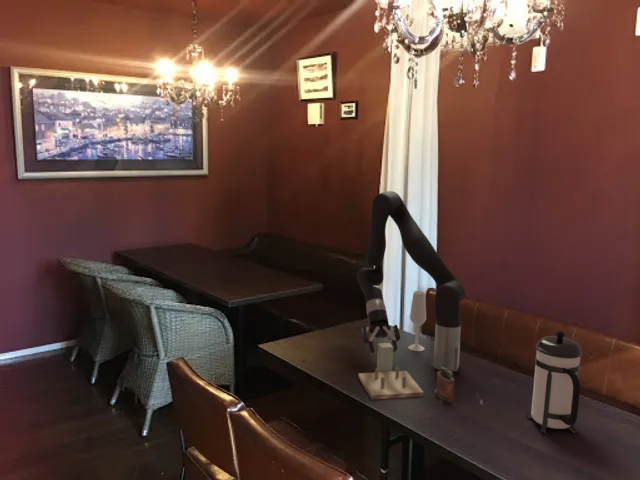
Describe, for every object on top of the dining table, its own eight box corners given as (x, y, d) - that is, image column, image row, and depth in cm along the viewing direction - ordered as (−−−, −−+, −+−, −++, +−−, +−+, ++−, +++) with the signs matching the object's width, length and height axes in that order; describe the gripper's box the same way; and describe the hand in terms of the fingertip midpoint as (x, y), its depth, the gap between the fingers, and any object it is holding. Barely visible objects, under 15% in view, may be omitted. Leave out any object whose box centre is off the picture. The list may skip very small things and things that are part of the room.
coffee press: (515, 425, 172) (523, 331, 166) (538, 408, 183) (546, 320, 177) (572, 447, 159) (583, 347, 154) (593, 428, 171) (604, 334, 165)
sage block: (376, 368, 212) (377, 343, 211) (388, 367, 213) (389, 342, 211) (380, 373, 208) (381, 347, 206) (391, 372, 209) (393, 347, 207)
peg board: (405, 374, 207) (406, 361, 206) (423, 396, 190) (424, 382, 189) (358, 377, 204) (358, 364, 203) (371, 399, 187) (372, 385, 186)
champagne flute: (407, 350, 232) (410, 293, 228) (408, 344, 238) (411, 289, 234) (424, 351, 230) (427, 295, 226) (425, 346, 237) (428, 290, 233)
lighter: (433, 392, 193) (435, 365, 191) (442, 391, 194) (443, 363, 192) (446, 403, 185) (448, 374, 184) (455, 401, 187) (457, 373, 185)
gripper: (361, 309, 216) (367, 348, 206) (396, 308, 218) (404, 346, 209) (357, 318, 222) (363, 356, 213) (392, 316, 224) (399, 355, 215)
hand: (383, 351), depth 211 cm, fingers open, 8 cm apart
